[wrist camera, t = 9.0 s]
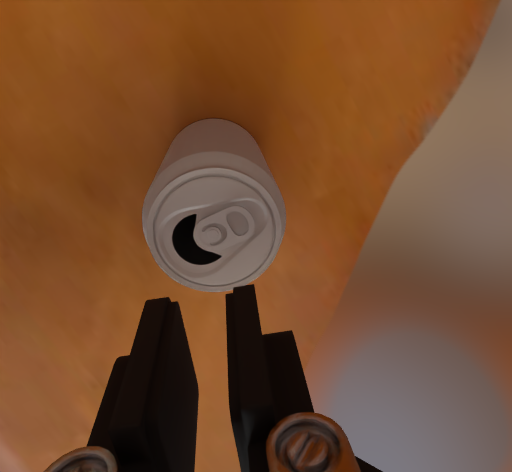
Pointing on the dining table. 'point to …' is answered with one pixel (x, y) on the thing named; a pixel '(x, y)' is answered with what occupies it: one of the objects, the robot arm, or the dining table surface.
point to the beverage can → (214, 208)
